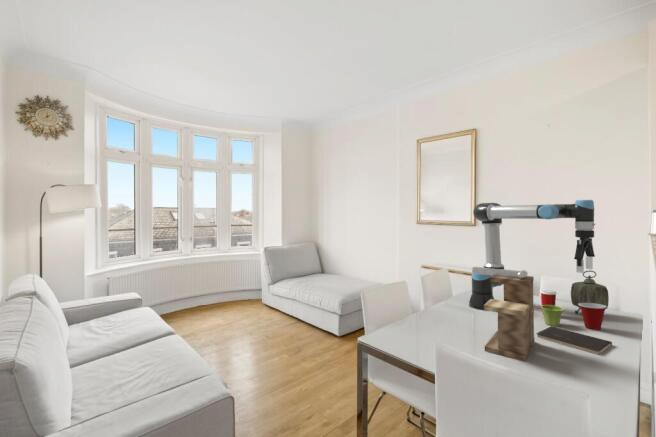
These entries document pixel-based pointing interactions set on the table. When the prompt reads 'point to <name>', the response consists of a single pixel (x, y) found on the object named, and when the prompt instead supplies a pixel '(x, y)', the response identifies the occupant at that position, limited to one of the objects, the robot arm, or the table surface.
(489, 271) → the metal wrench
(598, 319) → the plastic cup
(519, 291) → the step stand
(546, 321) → the plant pot
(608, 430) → the table surface
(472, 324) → the table surface
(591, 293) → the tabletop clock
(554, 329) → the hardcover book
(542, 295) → the paper cup
